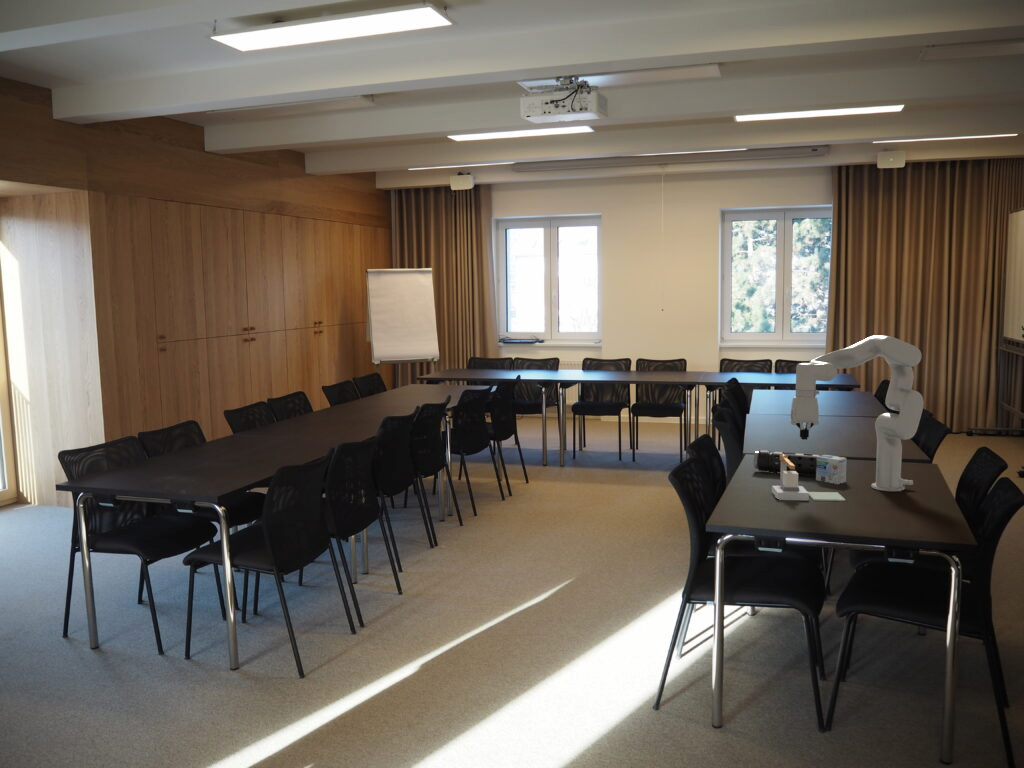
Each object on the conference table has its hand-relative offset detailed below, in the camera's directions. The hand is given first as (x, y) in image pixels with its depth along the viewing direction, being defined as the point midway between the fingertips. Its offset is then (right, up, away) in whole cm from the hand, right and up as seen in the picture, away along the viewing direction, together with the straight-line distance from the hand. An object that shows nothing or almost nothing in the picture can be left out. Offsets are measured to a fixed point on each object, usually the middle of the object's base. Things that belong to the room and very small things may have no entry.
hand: (804, 439), depth 342 cm
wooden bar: (-5, -11, +5) cm, 13 cm away
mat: (+8, -23, -1) cm, 25 cm away
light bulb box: (+21, -20, +27) cm, 39 cm away
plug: (-6, -23, +1) cm, 24 cm away
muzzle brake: (+6, -19, +41) cm, 46 cm away
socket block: (-5, -23, +6) cm, 24 cm away
